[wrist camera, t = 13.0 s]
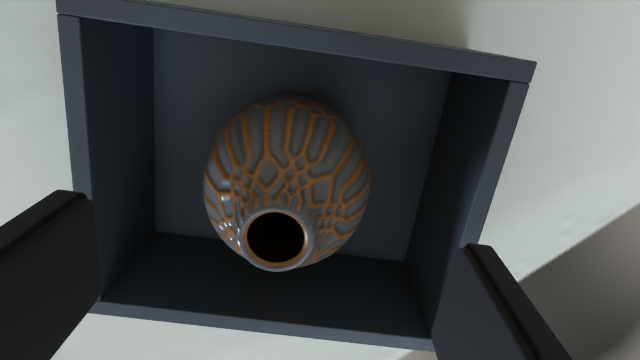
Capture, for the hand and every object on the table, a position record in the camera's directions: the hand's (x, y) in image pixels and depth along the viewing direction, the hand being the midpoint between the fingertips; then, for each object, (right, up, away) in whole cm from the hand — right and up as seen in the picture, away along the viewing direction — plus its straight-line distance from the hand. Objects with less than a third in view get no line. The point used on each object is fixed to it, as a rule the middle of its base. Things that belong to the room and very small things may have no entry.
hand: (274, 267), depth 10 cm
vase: (0, +4, +10) cm, 11 cm away
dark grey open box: (0, +4, +11) cm, 11 cm away
